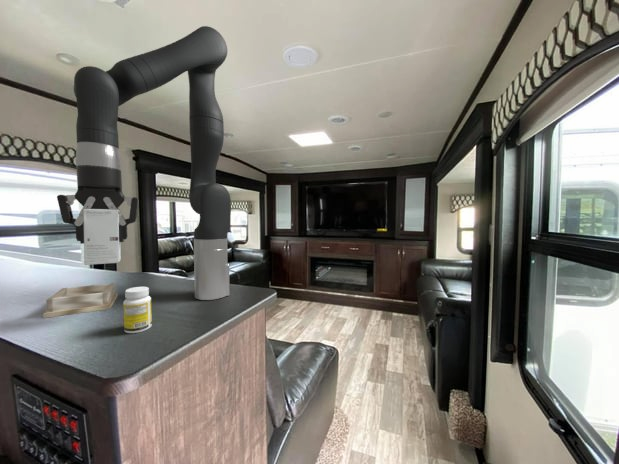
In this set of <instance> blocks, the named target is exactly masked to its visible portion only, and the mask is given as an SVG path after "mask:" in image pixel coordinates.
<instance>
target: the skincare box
mask: <svg viewBox="0 0 619 464" xmlns="http://www.w3.org/2000/svg"><path fill="white" fill-rule="evenodd" d="M119 210H120V209H119ZM119 210H110V209H84V210H83V217H84V244H83V251H84V252H83V253H84V256H83V257H84V259H83V260H84V266H89V265H91V266H92V265H103V264H117V263H120V262H121V258H122V257H121V256H122V255H121V253H122V252H121V250H122V249H121V242H119V226H120V224H119V215H118V211H119ZM119 212H121V210H120V211H119Z"/></svg>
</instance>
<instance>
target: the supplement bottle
mask: <svg viewBox="0 0 619 464" xmlns="http://www.w3.org/2000/svg"><path fill="white" fill-rule="evenodd" d="M124 292H125V293H124V297H125V299H124V300H123V302H122V304H123V326H124V327H123V329H124V330H123V331H124V332H125V333H127V334H138V333H142V332H145V331H147V330H149V329H150V328H152V326H153V315H152V297H151V296H150V295H149V293H150V288H149V287H148V286H135V287H134V286H133V287H129V288H126V290H125V291H124Z"/></svg>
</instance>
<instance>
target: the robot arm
mask: <svg viewBox="0 0 619 464" xmlns="http://www.w3.org/2000/svg"><path fill="white" fill-rule="evenodd" d="M227 56H228V46H227V43H226V40H225V38H224V36H222V34H221V33H220V32H219V31H218V30H217V29H215V28H213V27H211V26H207V25H204V26H203V25H202V26H199V27H198V28H196V29H195V30H193V31H192V32H191V33H189V34H187V35H185V36H184V37H182V38H179V39H178V40H176V41H174V42H172V43H169V44H167V45H165V46H164V45H163V46H161V47H159V48H155V49H152V50H151V51H147V52H144V53H141V54H138V55H134V56H131V57H128V58H123V59H121V60H119V61H117V62H116V63H114V65H113V66H112V67H111V68H110V69H108V70H106V71H105V70H103V69H101V68H99V67H97V66H92V65H88V66H87V65H85V66H82V67H80V68H79V69H78V70H77V71H76V73H75V75H74V77H73V78H74V79H73V93H74V96H75V98H76V106H77V117H76V125H75V126H76V127H75V128H76V133H75V134H76V151H75V166H76V181H77V182H76V183H77V185H76V186H77V191H76V192H75V193H74V194H67V195H65V194H58V195H57V196H56V198H57V203H58V207H59V212H60V215H61V221H62V222H63V223H65V224H69V225H73V226H74V227H75V239H76V241H77V242H80V244H81V245H82V244H83V245H84V217H83V210H84V209H110V210H119V211H120V212H119V211H118V215H119V224H120V226H119V242H120V243H123V242H125V240H127V239H128V226H129V225H130V224H133V223H136V222H137V218H138V208H139V204H140V203H139V202H140V201H139V199H138V198H137V197H130V196H129V197H128V196H125V195H124V193H123V185H122V184H123V183H122V161H121V154H120V147H119V146H120V144H119V143H120V142H119V131H118V129H119V128H118V118H119V107H120V106H123V104H126V103H127V102H129V101H131V100H132V99H133V98H135V97H137V96H140V95H144V94H147V93H148V92H151V91H153V90H156V89H158V88H161V87H162V86H164V85H166V84H168V83H170V82H171V81H173V80H174V79H176V78H177V77H178V76H181V75H183V74H184V73H187V76H188V84H189V85H188V87H189V90H188V91H189V93H188V95H189V96H188V98H189V99H188V101H189V102H188V103H189V106H188V107H189V109H188V110H189V118H188V119H189V138H190V139H189V141H190V143H189V144H190V163H191V164H190V165H191V166H190V167H191V168H190V170H191V171H190V183H189V195H188V197H189V198H188V199H189V204H190V207H191V208H192V210H193V211H194V212H195V213H196V214H197V215H199V223H198V225H197V226H196V227H195V228H194V231H193V262H194V263H193V264H194V265H193V268H194V270H193V271H194V274H193V275H194V279H193V280H194V281H193V283H194V298H195V299H197V300H200V301H212V300H218V299H221V298H224V297H229V296H230V264H229V263H228V234H229V230H230V227H231V214H232V213H231V212H232V211H231V210H232V199H231V195H230V193H229V190H228V189H227V188H226V187H225V186H224V185H223V184H221V183H217V179H216V178H217V177H216V171H217V165H218V162H219V159H220V155H221V153H222V149H223V145H224V137H225V131H224V130H225V129H224V116H223V113H222V110H221V107H220V105H219V102H218V100H217V98H216V92H215V77H216V73H217V70H218V69H219V68H220V67H221V66H222V65H223V64H224V62H225V61H226V58H227ZM75 201H77V202H78V203H79V204H80V205H81V206H82V208H81V209H80V212H79V213H78V216H77V218H74V215H73V210H72V206H73V205H74V203H75ZM124 202H126V205H127V206H128V207H130V209H129V210H130V211H129V217H128V218H127V219H126V218H125V216H124V215H123V213H122V211H121V210H120V209H119V207H120V206H121V205H122V204H123V203H124Z"/></svg>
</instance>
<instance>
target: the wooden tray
mask: <svg viewBox="0 0 619 464" xmlns="http://www.w3.org/2000/svg"><path fill="white" fill-rule="evenodd" d="M115 285H116V283H114V282H113V283H111V282H110V283H101V284H94V285H81V286H71V287H62V288H61V289H60V290H58V291H57V292H55V293H54V294H52V295H51V296H50V297H47V299H45V303H46V304H45V305H46V308H45V309H46V310H45V311H44V312H43V313H42V319H45V318H54V317H61V316H68V315H74V314H82V313H90V312H98V311H104V310H105V311H106V310H111V308H112V307H113V305H114V303H115V301H116V300H117V298H118V292H116V286H115Z"/></svg>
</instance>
